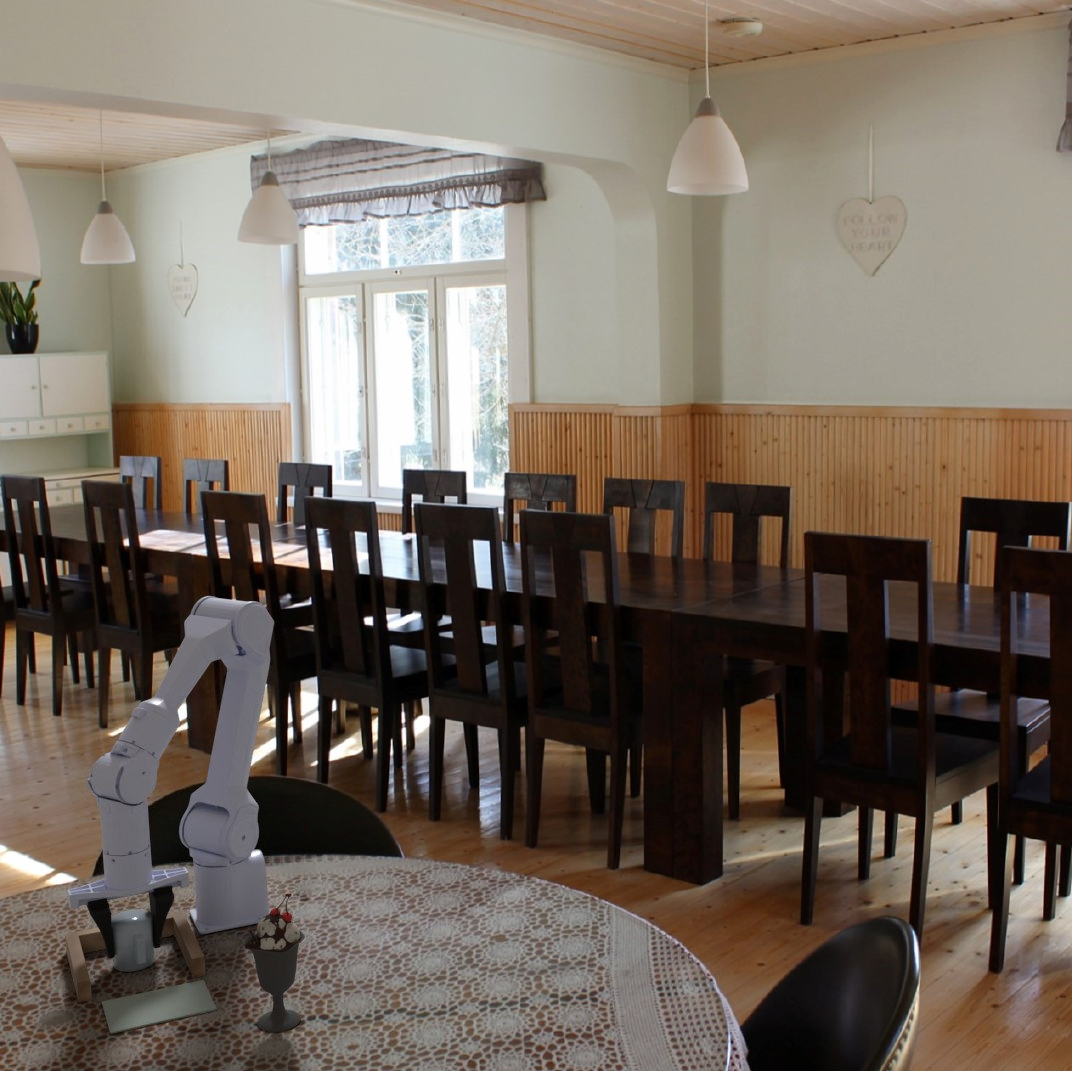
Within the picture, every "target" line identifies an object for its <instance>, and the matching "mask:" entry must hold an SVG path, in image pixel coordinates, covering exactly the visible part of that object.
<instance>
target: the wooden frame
mask: <svg viewBox="0 0 1072 1071" xmlns="http://www.w3.org/2000/svg"><path fill="white" fill-rule="evenodd" d="M172 935H173V936H174V938H175V937H176V938H175V940H176V942H177V944H178V946H179V948H180V951H181V953H182V956H183V958H184V959H185V963H186V965H187V967H188V970H189V972H190V973H191V976H192V978H194V979H195V978H198V977H199V978H200V977H202V976H203V977H205V976H206V964H205V962H206V961H205V955H204V953H203V951H202V948H201V946H200V944H199V942H198V940H197V938H196V935H195V934H194V931H193V929H192V928H191V925H190V924H189V921H188V918H187V917H186V915H185V912H184V911H183V910H181V911H175V912H174V911H173V912H168V915H167V918H166V920H165V924H164V927H163V931H162V936H161V937H163V938H167V937H172ZM64 936H65V937H64V938H65V952H66V956H67V960H68V964H69V965H68V966H69V968H70V972H71V977H72V981H73V986H74V989H75V993H76V998H77V1001H78V1003H83V1002H87V1001H92V1000H93V999H92V987H91V986H92V985H91V978H90V975H89V970H88V966H87V963H86V959H85V955H84V954H87V953H93V952H97V951H102V950H106V947H105V943H104V939H103V936H102V934H101V932H100V930H99V928H98V926H97V927H93V928H88V929H83V930H76V931H71V932H67V933H64Z"/></svg>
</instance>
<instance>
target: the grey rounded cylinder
mask: <svg viewBox="0 0 1072 1071" xmlns="http://www.w3.org/2000/svg"><path fill="white" fill-rule="evenodd" d="M111 924H112V939H113V946H114V958H112V960H113V968H114V969H115V970H117V971H120V972H126V973H127V972H128V973H129V972H136V971H141V970H144V969H146V968H148V967H150V966H151V965H153V964H154V963H155V959H156V958H155V948H154V941H153V926H152V914H151V910H148V909H142V908H138V909H135V908H133V909H127V910H124V911H123V910H122V911H120V912H119V913H115V914H114V915H113V916H111Z"/></svg>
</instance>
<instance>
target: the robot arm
mask: <svg viewBox="0 0 1072 1071" xmlns="http://www.w3.org/2000/svg"><path fill="white" fill-rule="evenodd" d="M183 626H184V638H183V640H182V642H181V644H180V645H179V648H178V650H177V651H176V654H175V656H174V658H173V659H172V662H171V664H170V666H169V668H168V669H167V671H166V673H165V675H164V677H163V680H162V681H161V683H160V684H159V687H158V690H157V691H156V693H155V695H154V696H153V697H152V698H149V699H147V700H144V701H141V702H140V703H139V704H138V705H137V707H136V706H135V707H134V708H133V710H132V712H131V714H130V718H129V720H128V722H127V724H126V726H125V727H124V729H123V730H122V732H121V733H120V735H119V737H118V738H117V740H116V742H115V743H114V745H113V746H112V748H111V750H110V751H109V752H107V753H104V755H101V756H100V757H99V758H98V759H97V760H96V761H95V762H94V763H93V765H92V767H91V769H90V773H89V776H90V777H89V778H87V779H86V785H87V788H88V791H89V792H90V793H91V794H92V795H93V796H94V798H95V799H96V808H97V809H98V810H99V818H100V830H101V831H100V833H101V844H102V846H101V847H102V858H103V859H102V860H103V862H102V863H103V872H104V873H103V874H104V878H103V879H100V880H97V881H94V882H91V883H87V884H85V885H81V886H77V887H73V888H70V889H67V902H68V908H69V909H70V910H77V909H79V908H80V906H81V907H82V906H86V907H87V910H88V912H89V915H90V917H91V918H92V920H93V921H94V923H95V924H96V926H97V927H98V928H99V930H100V932H101V934H102V936H103V939H104V943H105V947H106V949H105V952H106V955H107V958H108V959H113V958H114V946H113V939H112V924H111V918H112V911H111V908H110V904H109V901H112V900H116V899H121V898H127V897H131V896H137V895H141V894H143V895H144V894H148V902H149V909H150V910H149V911H150V912H151V914H152V926H153V941H154V949H159V948H161V943H162V938H161V936H162V931H163V927H164V924H165V920H166V918H167V915H168V914H169V913H170V911H171V908H172V906H173V904H174V901H175V893H174V891H173V888H177V887H178V888H179V887H180V888H183V889H184V888H188V887H190V877H189V876H190V874H189V871H188V869H187V868H186V867H179V868H172V869H171V868H170V869H155V870H154V869H152V868H153V865H152V855H151V854H152V853H151V840H150V837H151V836H150V824H149V823H150V822H149V807H148V805H149V804H148V798H149V797H150V795H151V794H152V792H154V790H156V785H157V780H158V769H159V768H160V763H161V762H160V759H161V757H162V755H163V754H164V753H165V750H166V749H167V747H168V745H169V744H170V742H171V741H172V738H173V737H174V735H175V734H176V732H177V730H178V728H179V727H180V725H181V722H180V720H181V719H180V717H179V709H180V707H181V706H182V704H183V703H184V702H185V701H186V700H187V698H188V696H189V694H190V693H191V692H192V690H193V689H194V687H195V686H196V685H197V683H198V682H199V680H200V679H201V677H202V676H203V675H204V673H205V672H206V670H207V669H208V667H209V666H210V664H211V663H212V662H215V661H217V660H221V661H222V662H223V665H224V666H225V667H226V670H227V672H226V677H225V682H224V685H223V686H224V687H223V692H222V697H221V703H220V709H219V713H218V718H217V722H216V729H215V734H214V739H213V744H212V750H211V755H210V760H209V766H208V771H207V775H206V776H207V777H206V782H205V783H204V784H203V785H201V786H200V787H199V788H198V789H196V790H195V791H194V792H192V793H191V794H190V798H189V803H188V806H187V809H186V810H185V812H184V814H183V815H182V818H181V819H180V822H179V830H178V833H179V834H178V835H179V839H180V841H181V843H182V844H183V845H184V846H185V847H186V848H187V849H188V850H189V857H192V859H193V861H192V862H193V875H194V896H195V908H191V909H190V910H189V915H190V917H191V919H192V921H193V923H194V926H195V927H196V930H197V931H198V934H200V935H205V934H210V933H216V932H219V931H220V932H221V931H226V930H230V929H231V930H232V929H235V928H240V927H246V926H251V925H255V924H256V925H257V924H258V923H259V922H260V921H261V919H262V918H263V917H264V916H266V915H268V914H270V913H269V912H270V911H269V895H268V894H269V893H268V878H267V876H268V875H267V868H266V861H265V857H264V855H263V854H264V853H263V852H262V850H261V849H255V848H256V846H257V844H258V840H259V836H260V834H259V833H260V830H259V829H260V828H259V823H258V813H259V809H260V807H259V804H258V802H256V800H255V799H254V797H253V796H252V794H251V793H250V792H249V790H248V783H249V776H250V773H251V772H250V771H251V766H252V761H253V756H254V750H255V745H256V739H257V733H258V730H259V723H260V719H261V718H260V717H261V712H262V707H263V701H264V697H265V691H266V685H267V681H268V676H269V670H270V665H271V664H270V663H271V652H270V646H271V641H272V635H273V632H274V626H275V620H274V619H273V618H272V616H271V614H270V613H269V612H268V610H267V608H266V607H265V605H263V604H262V603H261V602H259V601H254V600H253V601H250V600H249V601H244V600H237V599H229V598H228V599H227V598H220V597H216V596H212V595H207V596H204V597H201V598H200V599H198V600H197V601H196V603H194V605H193V607H192V609H191V611H190V614H189V615H188V617H187V618H186V619H185V620H184V625H183Z"/></svg>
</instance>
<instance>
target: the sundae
mask: <svg viewBox="0 0 1072 1071" xmlns="http://www.w3.org/2000/svg"><path fill="white" fill-rule="evenodd" d="M290 897H292V893H285V897H284V898H283V900H282V902H281V903H280V904H279V905H278V906H277V907H274V908H272V909H271V910H270V911H269V912H270V913H269V914H268V915H266V916H264V917H263V918H262V919H261V921H260V922H259V923H257V927H256V931H253V929H252V927H250V926H247V931H248V933H249V934H248V936H246V939H245V943H244V949H245V950H249V951H251V952H252V955H253V959H254V965H255V969H256V974H257V975H256V976H257V979H258V984H259V986H260V988H261V989H263V991H264V992H266V993H267V994H270V995H271V996H272V1010H271V1011H268V1012H266V1013H265V1014H262V1015H261V1016H260V1018H259V1019H258V1021H257V1024H256V1025H257V1026H258V1028H259V1029H261V1030H263V1032H267V1033H281V1032H286V1031H289V1030H292V1029H293V1028H295V1027H297V1026H298V1025H299V1024H300V1022H301V1019H302V1016H301V1015H300V1013H299V1012H297V1011H295V1010H293V1009H291V1010H290V1009H286V1007H285V1003H284V994H285V992H287V991H288V990H289V989H291V987H292V985H293V984H294V982H295V981H296V980H295V979H296V975H297V965H298V954H299V947H300V944H301V942H303V941H304V940H305V934H304V932H302V931H301V930H300V929H299V927H298V926H297V923H295V922H294V921H292V919H293V914H292V913H291V912H289V910H288V900H289V899H290ZM286 898H287V899H286ZM285 900H286V901H285ZM284 902H285V912H283V913H282V914H281V910H280V909H279V908H281V907H282V905H283V904H284Z"/></svg>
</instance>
